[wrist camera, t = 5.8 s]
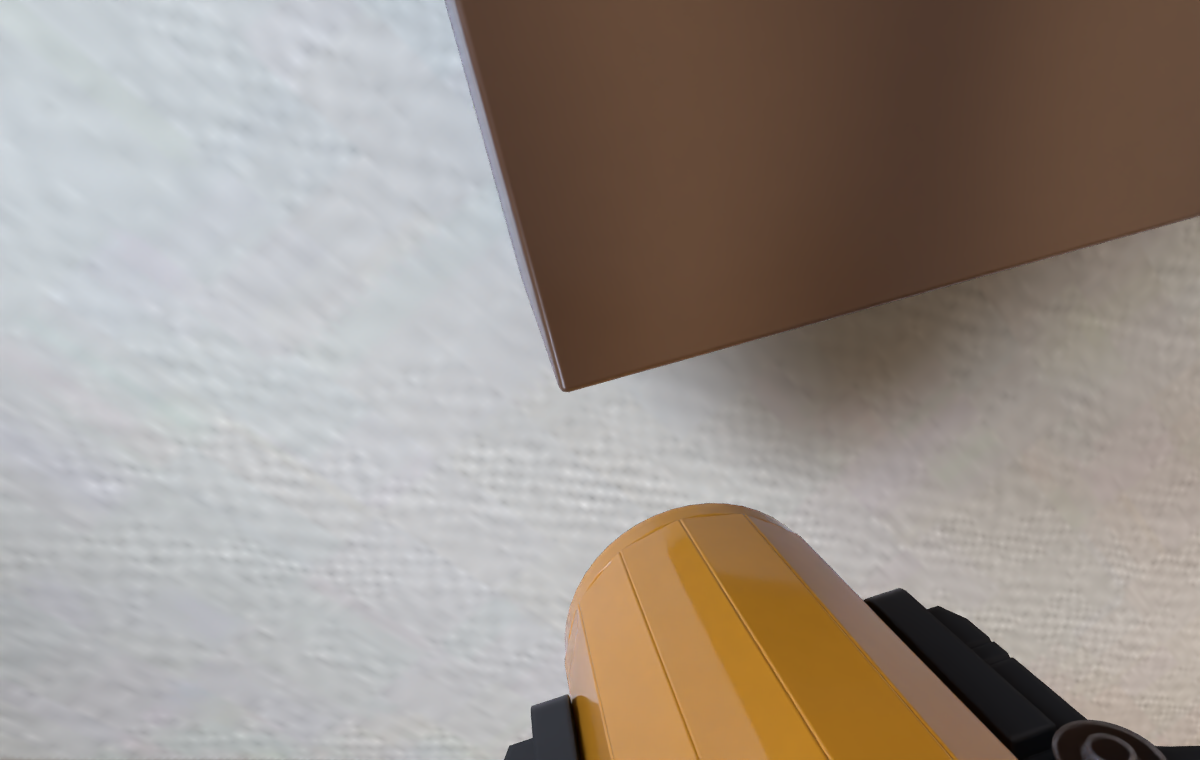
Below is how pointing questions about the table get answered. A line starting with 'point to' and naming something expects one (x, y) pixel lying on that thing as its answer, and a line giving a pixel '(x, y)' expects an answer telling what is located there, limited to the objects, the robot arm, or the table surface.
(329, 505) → the table surface
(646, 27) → the shelf
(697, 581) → the ochre cup
